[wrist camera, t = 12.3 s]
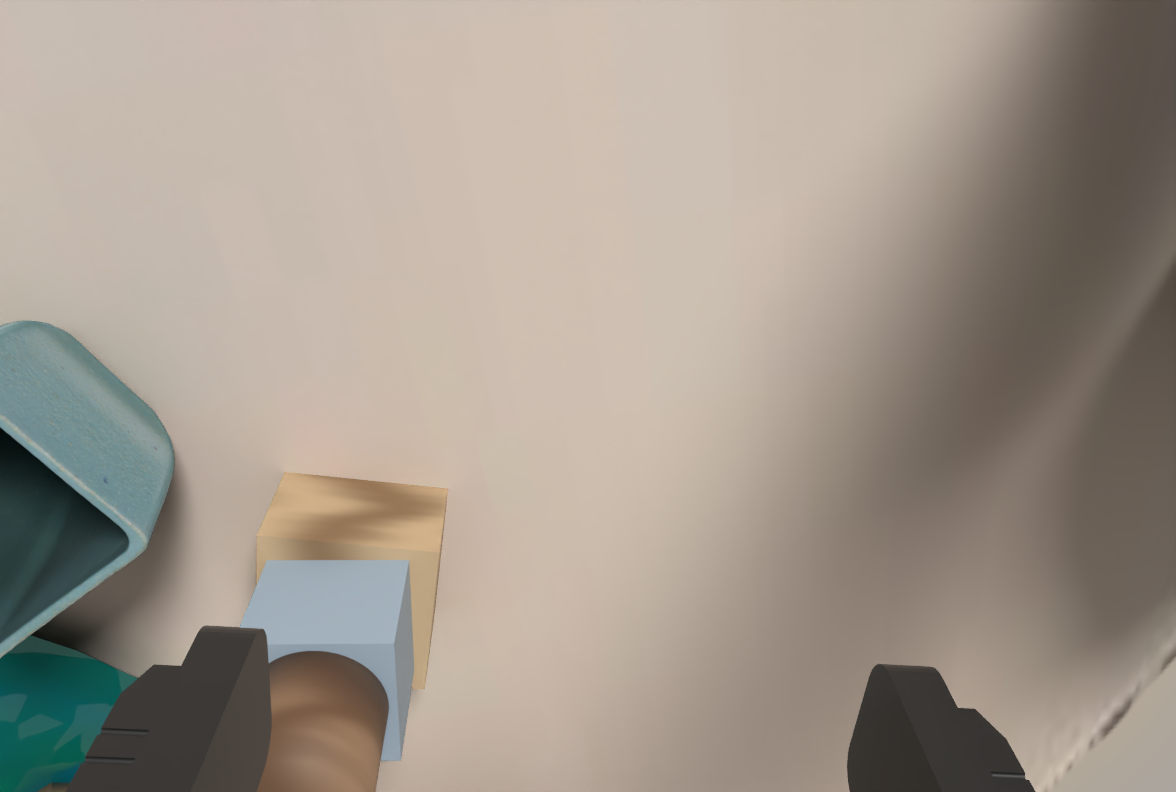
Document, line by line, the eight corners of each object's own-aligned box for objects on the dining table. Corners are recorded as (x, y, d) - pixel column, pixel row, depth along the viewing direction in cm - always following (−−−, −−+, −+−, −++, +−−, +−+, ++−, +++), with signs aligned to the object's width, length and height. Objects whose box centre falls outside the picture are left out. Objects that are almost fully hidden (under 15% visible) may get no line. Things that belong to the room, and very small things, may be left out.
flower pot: (82, 534, 43) (-22, 676, 35) (-91, 391, 39) (-250, 510, 31) (227, 423, 41) (153, 546, 33) (59, 263, 37) (-70, 355, 29)
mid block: (409, 560, 38) (394, 643, 34) (414, 668, 41) (400, 760, 36) (266, 560, 38) (232, 644, 34) (280, 670, 40) (249, 762, 36)
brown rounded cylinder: (390, 654, 34) (370, 764, 30) (387, 760, 36) (368, 877, 32) (244, 647, 34) (200, 758, 29) (249, 755, 36) (209, 874, 31)
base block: (448, 487, 43) (439, 552, 38) (434, 614, 46) (424, 689, 41) (285, 470, 42) (256, 535, 38) (281, 601, 45) (254, 676, 40)
